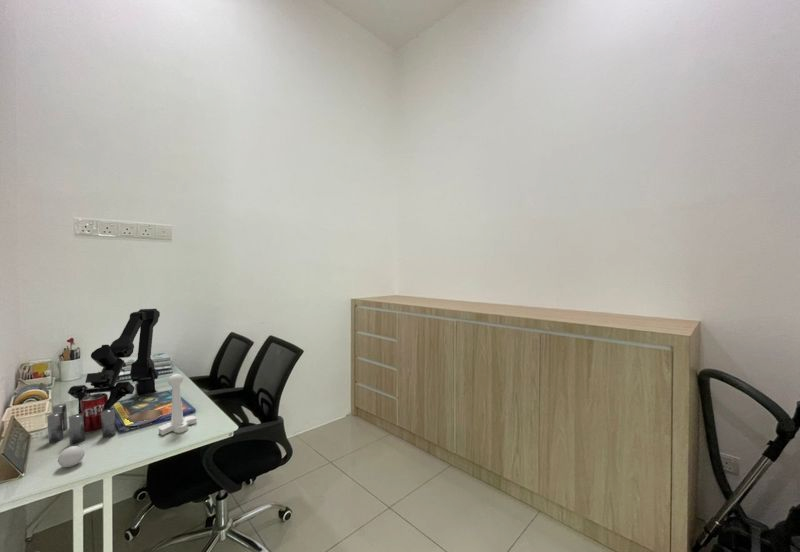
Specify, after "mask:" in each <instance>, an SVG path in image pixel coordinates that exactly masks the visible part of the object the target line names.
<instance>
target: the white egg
mask: <svg viewBox="0 0 800 552" xmlns="http://www.w3.org/2000/svg"><path fill="white" fill-rule="evenodd" d="M84 457H85V449H84V448H83V446H82V447H81V446H78V445H72V446H69V447H67V448H65V449H64V450H62V452H60V453H59V455H58V457H57V456H56V457H55V459H57V462H58V464H59V466H61V467H63V468H72V467H75V466H76V465H77V464H79V463H80V462H81V461H83V459H84ZM51 459H53V458H51Z"/></svg>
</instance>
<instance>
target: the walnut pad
mask: <svg viewBox="0 0 800 552" xmlns="http://www.w3.org/2000/svg"><path fill="white" fill-rule="evenodd" d="M162 414H163V415H164V411H163V410H160V409H148V410H144V411H140V412H136V413H133V414H131V415H129V416H127V417H126V418H125V419H127V420H129V421H130V422H138V421H144V420H150V419H155V418H157V417H158V416H160V415H162Z"/></svg>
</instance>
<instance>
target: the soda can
mask: <svg viewBox="0 0 800 552" xmlns="http://www.w3.org/2000/svg"><path fill="white" fill-rule="evenodd" d="M108 399H109V396H108V394H107V392H100V393H91V394H90V395H89V396H86V397H84V398H82V400H81V401H80V405H81V413H82V414H83V415H84V433H85V434H93V433H96V432H100V431H102V423H101V411H103V410H104V408H105V405H106V403H107V401H108Z"/></svg>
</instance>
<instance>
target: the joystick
mask: <svg viewBox="0 0 800 552" xmlns="http://www.w3.org/2000/svg"><path fill="white" fill-rule="evenodd" d="M183 381H184V378H183V375H181V374H180V373H173V374H172V375H170V376H169V377H168V381H167V384H168V385H169V386H171V415H170V416H171V420H170V422H167V423H164V424H162V425H160V426H158V435H160V436H164V435H166V434H168V433H170V432H174V433H176V434H182V433H184V432H186V431H187V430H188V429H189V425H193V424H194V425H196V424H197V423H198V422H197V417H196V416H195V415H188V416H185V417H184V413H183V402H182V396H181V395H182V394H181V384H182V383H183Z"/></svg>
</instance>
